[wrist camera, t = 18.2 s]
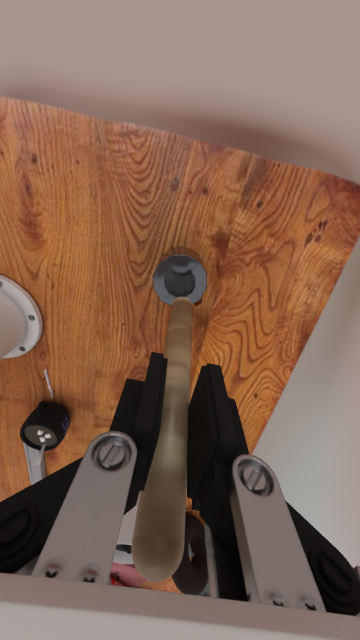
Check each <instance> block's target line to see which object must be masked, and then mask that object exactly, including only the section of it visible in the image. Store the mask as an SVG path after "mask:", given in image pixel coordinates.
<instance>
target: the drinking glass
mask: <svg viewBox="0 0 360 640" xmlns="http://www.w3.org/2000/svg"><path fill="white" fill-rule="evenodd" d="M139 496H140V492H139ZM139 496H138V499H137V503H136V506H135V507H134V508H132V509H131V510H130V511H129V512H127V513H126V514H125V515H124V516H123V519H122V523H121V528H120V532H119V536H118V541H117V545H116V550H115V554H114V559H113V562H116V563H120V564H132V563H133V559H132V551H131V546H132V537H133V531H134V525H135V519H136V514H137V508H138V502H139Z"/></svg>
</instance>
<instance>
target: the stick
mask: <svg viewBox="0 0 360 640" xmlns="http://www.w3.org/2000/svg"><path fill="white" fill-rule="evenodd" d="M192 323H193V304H192V302H191V301H190V300H189V299H188V298H186V297H179V298H177V299H175V300H174V301H173V303H172V305H171V311H170V317H169V323H168V329H167V335H166V341H165V347H164V353H163V354H164V358H168V364H167V374H166V383H165V392H164V402H163V411H162V420H161V428H160V433H159V438H158V441H157V445H156V449H155V452H154V456H153V460H152V463H151V467H150V470H149V474H148V478H147V481H146V485H145V489H144V491H140V496H139V502H138V508H137V514H136V519H135V525H134V531H133V537H132V546H131V551H132V559H133V563H134V565H135V568H136V569H137V571H138V572H139V574H140V575H141V576H142V577H143V578H145V579H147V580H148V581H151V582H161V581H164V580H166V579H168V578H169V577H171V576H172V575H173V574H174V573H175V571H176V570H177V568H178V567H179V564H180V562H181V560H182V556H183V552H184V536H185V509H186V483H187V448H188V422H189V403H190V377H191V350H192Z"/></svg>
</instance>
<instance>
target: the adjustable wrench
mask: <svg viewBox="0 0 360 640" xmlns="http://www.w3.org/2000/svg"><path fill="white" fill-rule="evenodd" d="M23 444H24V449H25V455H26V460H27V465H28V471H29V476H30V481H31V485H32V484H34V483H36V482H38V481H40V480H42V479H43V478H45V477H46V471H45V461H44V452H43V456H42V459H41V462H40V466H35V463H36V461H37V458H38V456H39V453H40V450H36V449H33V448H31V447H29V446H27V445H26V444H25V443H24V442H23Z"/></svg>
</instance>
